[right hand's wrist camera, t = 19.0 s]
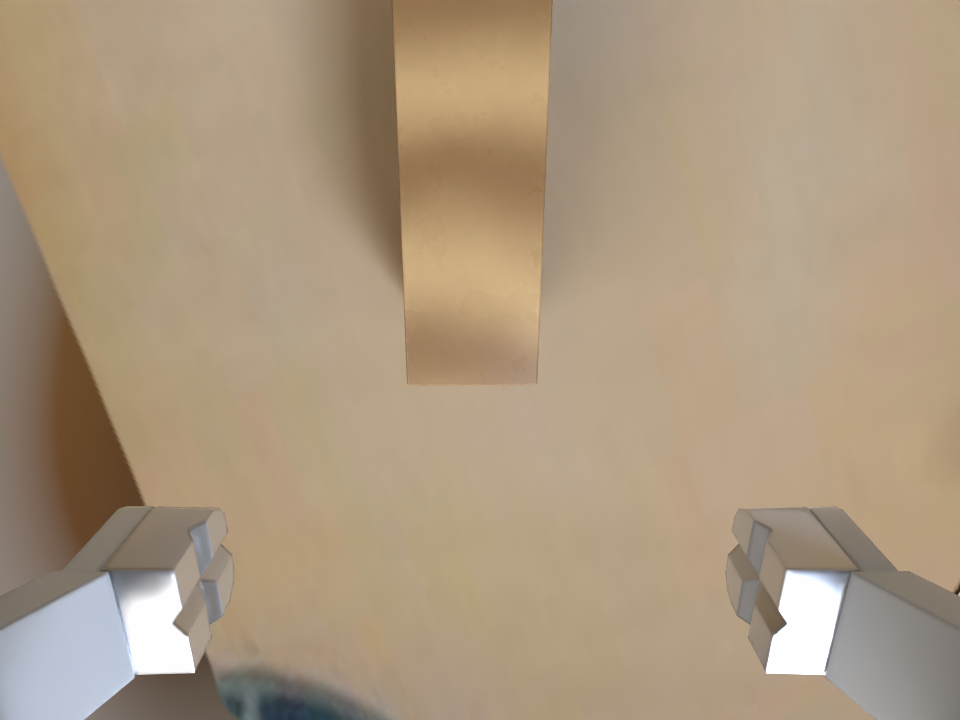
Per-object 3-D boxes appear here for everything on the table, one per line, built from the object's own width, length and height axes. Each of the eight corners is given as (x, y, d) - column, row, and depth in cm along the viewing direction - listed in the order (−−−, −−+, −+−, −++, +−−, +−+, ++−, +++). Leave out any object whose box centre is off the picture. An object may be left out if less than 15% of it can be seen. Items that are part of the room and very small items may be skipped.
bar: (521, 320, 32) (537, 385, 24) (421, 320, 32) (406, 386, 24) (539, -306, 23) (572, -491, 16) (402, -308, 23) (372, -495, 16)
